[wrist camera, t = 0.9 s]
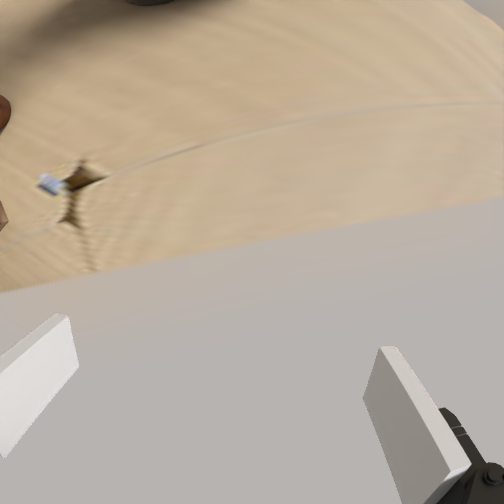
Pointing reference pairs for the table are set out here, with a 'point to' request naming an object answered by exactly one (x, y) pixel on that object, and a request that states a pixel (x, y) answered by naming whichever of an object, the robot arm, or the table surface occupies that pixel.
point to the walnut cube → (2, 217)
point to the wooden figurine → (4, 111)
